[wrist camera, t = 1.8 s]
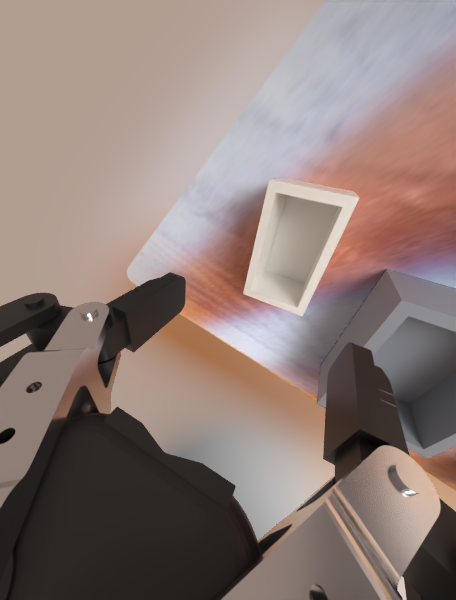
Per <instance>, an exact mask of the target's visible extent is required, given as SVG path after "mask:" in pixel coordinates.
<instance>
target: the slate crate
mask: <svg viewBox="0 0 456 600" xmlns="http://www.w3.org/2000/svg"><path fill="white" fill-rule="evenodd" d="M349 342H351V343H354V344H357V345H359V346H362V347H364V348H367V349H369V350H371V351H372V355H373V360H374V365H375V366H378V367H380V368H382V370H383V371H384V373H385V374H386V376H387V377H388V379H389V380H390V382H391V386H392V390H393V397H394V398H395V402H396V408H397V409H398V413H399V417H400V421H401V425H402V429H403V433H404V437H405V440H406V444H407V448H408V449H409V450H411V451H414V452H416V453H418V454H420V455H422V456H424V457H426V458H431V457H433V456H435V455H437V454H439V453H442V452H444V451H446V450H448V449H451V448H453V447H455V446H456V289H455V288H451V287H447V286H444V285H440V284H437V283H433V282H430V281H426V280H423V279H419V278H416V277H412V276H409V275H405V274H402V273H398V272H395V271H391V270H388V269H386V270H385V272H384V273H383V275H382V276H381V278H380V279H379V281H378V282H377V284H376V285H375V287H374V288H373V289H372V291H371V292H370V294H369V295H368V297H367V298H366V300H365V301H364V303H363V304H362V306H361V307H360V308H359V310H358V311H357V313H356V314H355V316H354V317H353V319H352V320H351V322H350V323H349V325H348V326H347V327H346V329H345V330H344V332H343V333H342V335H341V336H340V338H339V339H338V341H337V342H336V343H335V345H334V346H333V348H332V349H331V351H330V352H329V354H328V355H327V357H326V358H325V360H324V361H323V362H322V364H321V365H320V375H319V385H318V396H317V404H318V405H320V406H322V407H324V408H326V394H327V377H328V372H329V370H330V367H331V365H332V364H333V362H334V361H335V360H336V358H337V357H338V355H339V354H340V353H341V351H342V350H343V349H344V347H345V346H346V345H347V343H349Z"/></svg>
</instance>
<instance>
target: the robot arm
mask: <svg viewBox="0 0 456 600" xmlns="http://www.w3.org/2000/svg"><path fill="white" fill-rule="evenodd" d="M185 284H186V282H185V278H184V277H182V276H179V275H176V274H174V273H168V274H166V275H164V276H163V277H161V278H157V279H153V280H149V281H147V282H145V283H144V284H142V285H141V286H138V287H136V288H135V289H134V290H131V291H129V292H128V293H126V294H124V295H122V296H120V297H118V298H117V299H115V300H113V301H111V302H109V303H108V304H103V303H99V302H90V303H85V304H82V305H79V306H77V307H75V308H72V307H66V306H60V304H59V302H58V300H57V298H56V296H55V295H53V294H50V293H36V294H31V295H28V296H24V297H22V298H19V299H17V300H15V301H12V302H10V303H7V304H5V305H3V306H0V347H1V346H3V345H5V344H7V343H8V342H10V341H12V340H14V339H16V338H18V337H19V336H21V335H23V334H25V333H26V334H27V336H28V337H29V339H30V341H31V343H32V344H31V345H29V346H28V347H26V348H24V349H22V350H21V351H19V352H17V353H15V354H14V355H12V356H10V357H9V358H7V359H5V360H4V361H2V362H0V600H402V597H401V595H400V594H399V592H398V591H397V585H398V582H399V580H400V578H401V576H403V577H404V581H405V589H406V597H407V600H456V512H455V511H454V510H453V509H452V508H451V507H449V506H448V505H447V504H445V503H444V502H443V501H442V500H441V499H440V498H439V496H438V493H437V491H436V488H435V486H434V485H433V483H432V481H431V479H430V478H429V476H428V475H427V474H426V472H425V471H424V470H423V469H422V467H421V466H420V465H419V464H418V463H417V462H416V461H415V460H414V459H413V458H411V457H410V455H409V452H408V448H407V444H406V440H405V437H404V433H403V429H402V425H401V421H400V417H399V413H398V409H397V408H396V402H395V398H394V397H393V390H392V386H391V382H390V380H389V379H388V377H387V376H386V374H385V373H384V371H383V370H382V368H380V367H378V366H375V365H374V360H373V355H372V351H371V350H369V349H367V348H364V347H362V346H359V345H357V344H354V343H351V342H349V343H347V345H346V346H345V347H344V349H343V350H342V351H341V353H340V354H339V355H338V357H337V358H336V360H335V361H334V362H333V364H332V365H331V367H330V370H329V372H328V377H327V394H326V415H325V416H326V417H325V435H324V456H323V457H324V458H323V459H325V460H327V461H328V462H330V463H332V464H334V465H335V476H334V477H332V478H331V479H330V480H329V481H328V482H326V483H325V484H324V485H323V486H322V487H321V488H320V489H318V490H317V491H316V492H315V493H314V494H313V495H312V496H311V497H310V498H308V499H307V500H306V501H305V502H304V503H303V504H301V505H300V506H299V507H298V508H297V509H296V510H295V511H293V512H292V513H291V514H290V515H289V516H287V517H286V518H284V519H283V520H282V521H281V522H279V523H278V524H277V525H276V526H275V527H273V528H272V529H271V530H270V531H269V532H267V533H266V534H265V535H264V536H263V537H262V538H261V539H260V540H258V541H257V539H256V536H255V533H254V531H253V528H252V526H251V524H250V522H249V520H248V518H247V516H246V514H245V512H244V510H243V509H242V507H241V506H240V504H239V503H238V501H237V500H236V499H235V498H234V496H233V492H234V490H235V485H233V484H232V483H231V482H229V481H228V480H226V479H225V478H223V477H222V476H220V475H219V474H217V473H216V472H214V471H213V470H211V469H210V468H208V467H207V466H205V465H204V464H202V463H199V462H195V461H191V460H188V459H184V458H180V457H177V456H173V455H170V454H167V453H165V452H163V451H162V449H161V448H160V447H159V445H158V444H157V443H156V441H155V440H154V439H153V437H152V436H151V435H150V433H149V432H148V430H147V429H146V428H145V426H144V425H143V424H142V423H141V422H139V421H138V420H137V419H135V418H133V417H132V416H131V415H129V414H128V413H126V412H124V411H123V410H122V409H120V408H119V407H116V408H115V410H114V411H113V412H112V413H111V414H110V410H111V391H112V387H113V383H114V379H115V376H116V371H117V368H118V364H119V360H120V357H121V352H120V351H121V350H122V349H124V348H127V349H128V350H130V351H132V352H135V351H136V350H137V349H138V348H139V347H140V346H142V345H143V344H144V343H145V342H146V341H147V340H149V339H150V338H151V337H152V336H153V335H154V334H155V333H157V332H158V331H159V330H160V329H161V328H162V327H164V326H165V325H166V324H167V323H168V322H169V321H170V320H172V319H173V318H174V317H175V316H176V315H177V314H179V313H180V312H181V311H182V309H183V307H184V305H185Z"/></svg>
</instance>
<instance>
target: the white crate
mask: <svg viewBox="0 0 456 600" xmlns="http://www.w3.org/2000/svg"><path fill="white" fill-rule="evenodd" d="M358 200H359V197H358V195H357V194H356V193H355V192H354V191H349V190H344V189H339V188H334V187H329V186H324V185H319V184H313V183H308V182H303V181H298V180H293V179H288V178H281V179H269V182H268V187H267V191H266V196H265V200H264V204H263V209H262V213H261V217H260V222H259V226H258V231H257V235H256V239H255V244H254V248H253V253H252V257H251V261H250V266H249V270H248V275H247V279H246V283H245V288H244V292H243V294H244V295H247V296H250V297H252V298H255V299H258V300H260V301H263V302H265V303H268V304H271V305H273V306H276V307H279V308H281V309H284V310H286V311H289V312H292V313H294V314H297V315H299V316H303V314H304V312H305V310H306V308H307V306H308V304H309V302H310V300H311V298H312V296H313V293H314V291H315V289H316V287H317V285H318V283H319V281H320V279H321V277H322V275H323V273H324V271H325V269H326V266H327V264H328V262H329V260H330V258H331V256H332V254H333V252H334V250H335V248H336V246H337V244H338V242H339V239H340V237H341V235H342V233H343V231H344V229H345V227H346V225H347V223H348V221H349V219H350V217H351V215H352V212H353V210H354V208H355V206H356V204H357V202H358Z"/></svg>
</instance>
